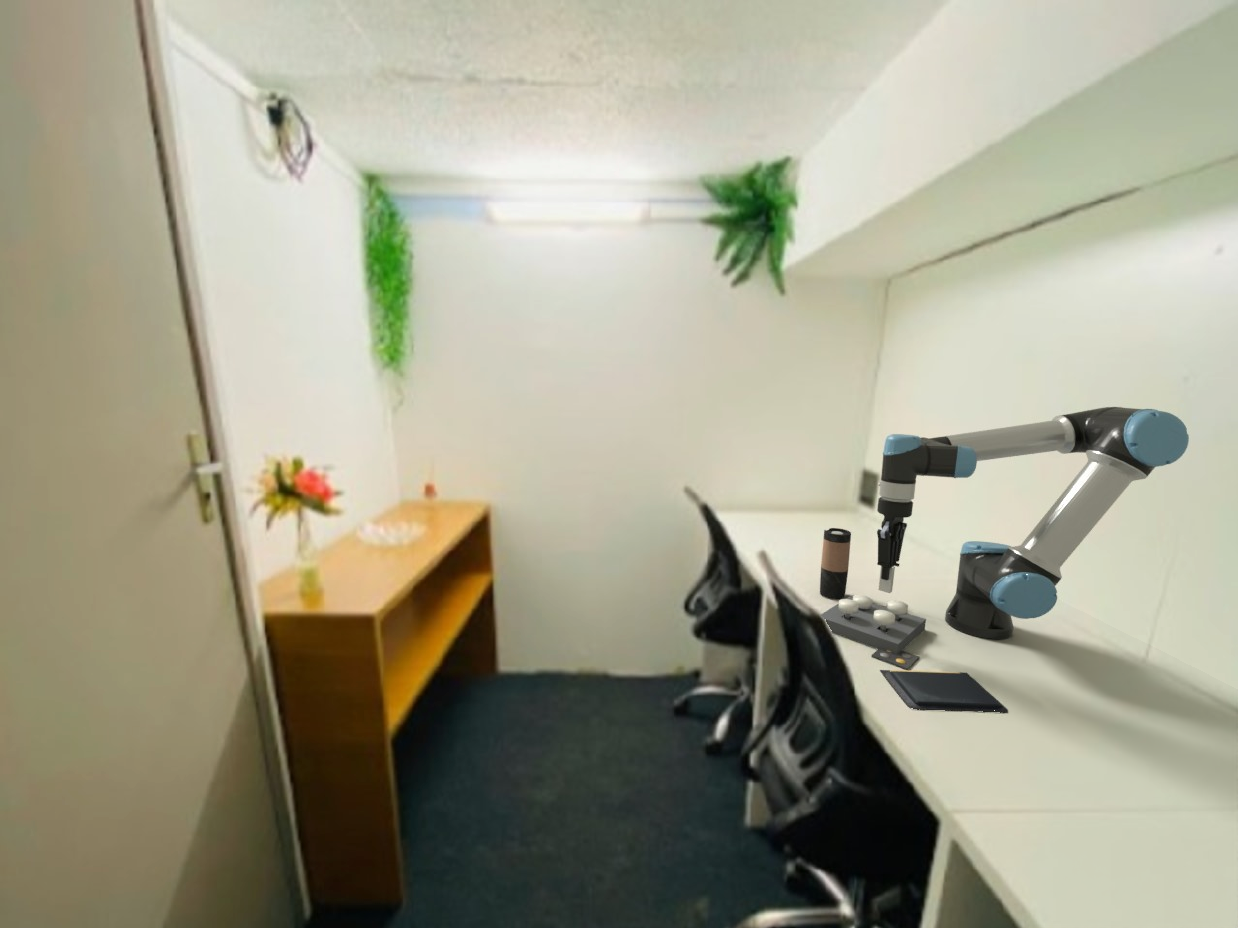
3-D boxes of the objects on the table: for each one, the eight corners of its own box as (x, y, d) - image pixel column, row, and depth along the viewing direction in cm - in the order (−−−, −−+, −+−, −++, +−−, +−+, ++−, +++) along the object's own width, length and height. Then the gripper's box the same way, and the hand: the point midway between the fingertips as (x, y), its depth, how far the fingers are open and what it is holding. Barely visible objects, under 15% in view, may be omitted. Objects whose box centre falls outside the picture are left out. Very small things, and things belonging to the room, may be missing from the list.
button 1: (908, 621, 142) (910, 604, 141) (902, 627, 139) (904, 609, 138) (889, 615, 146) (891, 598, 145) (882, 620, 142) (884, 603, 142)
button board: (924, 629, 143) (926, 618, 142) (896, 655, 129) (898, 644, 128) (849, 605, 157) (850, 595, 156) (816, 626, 143) (817, 616, 143)
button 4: (860, 620, 143) (861, 603, 142) (852, 625, 139) (854, 608, 138) (842, 614, 146) (843, 597, 145) (834, 619, 143) (835, 602, 142)
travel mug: (848, 601, 160) (854, 535, 157) (820, 598, 162) (826, 534, 158) (843, 591, 167) (848, 528, 164) (817, 588, 169) (822, 526, 166)
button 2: (896, 632, 136) (898, 614, 135) (889, 638, 133) (891, 619, 132) (876, 625, 140) (878, 608, 139) (869, 631, 136) (870, 613, 135)
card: (919, 657, 128) (919, 655, 128) (907, 670, 123) (907, 667, 123) (884, 645, 134) (884, 643, 134) (871, 656, 128) (871, 654, 128)
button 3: (873, 615, 149) (875, 598, 148) (866, 620, 146) (867, 603, 145) (855, 609, 152) (857, 593, 152) (848, 614, 149) (850, 598, 148)
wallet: (909, 703, 108) (878, 663, 123) (908, 712, 108) (877, 671, 123) (1014, 709, 107) (969, 667, 122) (1012, 717, 107) (968, 675, 122)
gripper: (889, 492, 138) (880, 580, 142) (869, 499, 129) (859, 592, 133) (921, 497, 132) (910, 588, 136) (902, 505, 124) (891, 602, 127)
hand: (885, 590), depth 135 cm, fingers closed
